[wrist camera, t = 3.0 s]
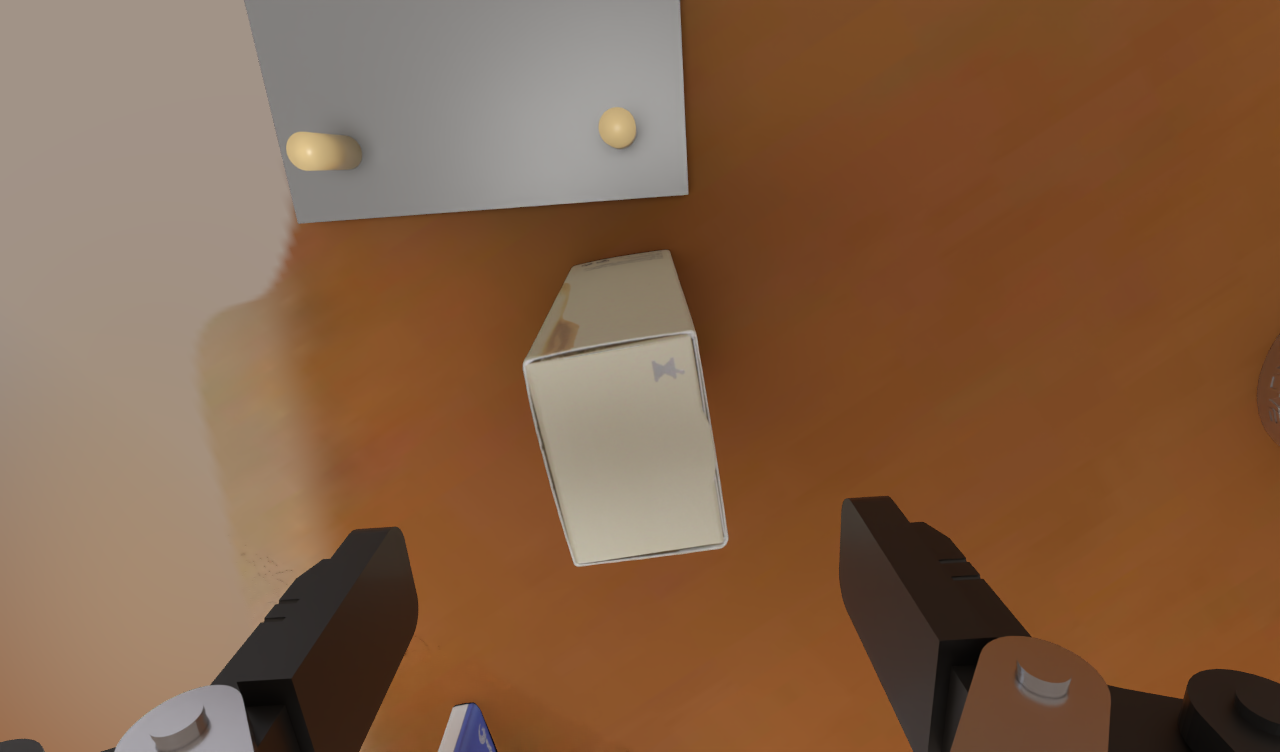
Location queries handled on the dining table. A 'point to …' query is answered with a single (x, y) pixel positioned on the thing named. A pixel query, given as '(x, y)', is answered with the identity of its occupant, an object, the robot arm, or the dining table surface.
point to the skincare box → (626, 414)
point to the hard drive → (467, 731)
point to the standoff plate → (472, 102)
